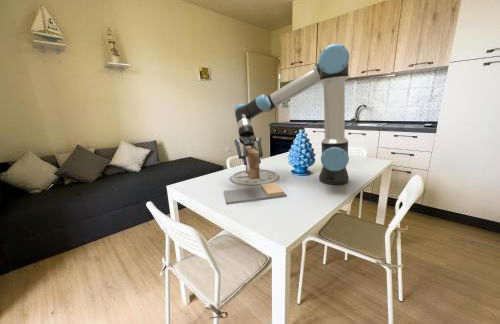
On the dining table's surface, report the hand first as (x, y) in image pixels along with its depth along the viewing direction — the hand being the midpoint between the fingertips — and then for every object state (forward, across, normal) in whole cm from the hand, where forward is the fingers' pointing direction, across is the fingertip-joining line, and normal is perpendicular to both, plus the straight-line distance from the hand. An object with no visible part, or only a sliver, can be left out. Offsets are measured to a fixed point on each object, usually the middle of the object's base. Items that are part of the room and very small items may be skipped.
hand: (253, 170), depth 99 cm
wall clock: (-11, -6, -31) cm, 33 cm away
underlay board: (+7, 0, -12) cm, 14 cm away
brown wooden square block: (0, 0, -5) cm, 5 cm away
